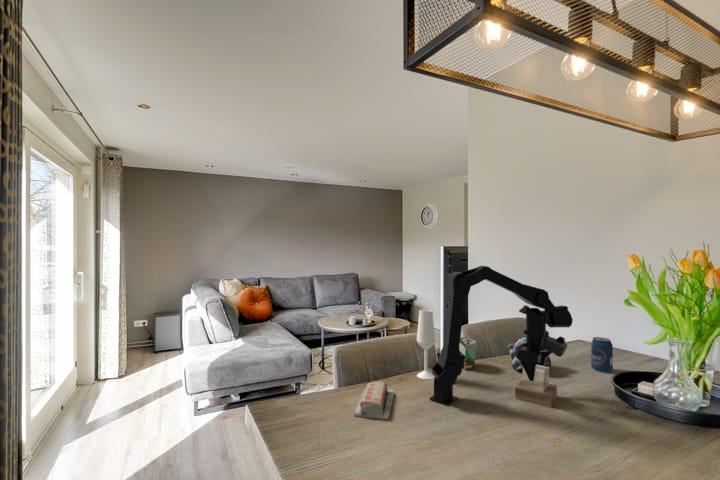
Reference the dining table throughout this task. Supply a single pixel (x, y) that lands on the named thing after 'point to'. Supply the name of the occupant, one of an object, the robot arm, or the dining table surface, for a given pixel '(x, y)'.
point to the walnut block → (536, 395)
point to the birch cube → (537, 379)
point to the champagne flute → (425, 339)
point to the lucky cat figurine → (515, 347)
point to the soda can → (602, 355)
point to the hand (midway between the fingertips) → (535, 377)
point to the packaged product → (375, 401)
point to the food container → (468, 352)
